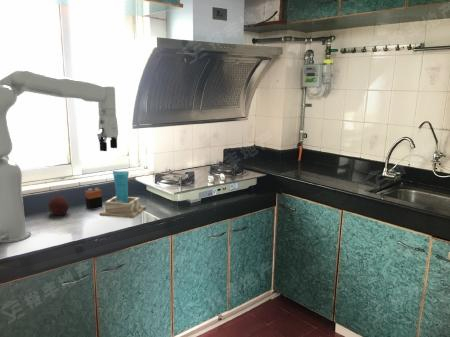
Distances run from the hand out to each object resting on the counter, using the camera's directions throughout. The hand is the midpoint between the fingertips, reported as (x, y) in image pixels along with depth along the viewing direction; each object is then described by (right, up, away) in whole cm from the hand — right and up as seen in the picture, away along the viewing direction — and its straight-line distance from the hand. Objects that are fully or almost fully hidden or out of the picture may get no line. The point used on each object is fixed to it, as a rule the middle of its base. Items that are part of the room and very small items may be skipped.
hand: (108, 149), depth 179 cm
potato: (-25, -31, +3) cm, 40 cm away
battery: (-11, -29, +14) cm, 34 cm away
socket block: (+5, -30, +7) cm, 31 cm away
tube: (+5, -29, +7) cm, 30 cm away
